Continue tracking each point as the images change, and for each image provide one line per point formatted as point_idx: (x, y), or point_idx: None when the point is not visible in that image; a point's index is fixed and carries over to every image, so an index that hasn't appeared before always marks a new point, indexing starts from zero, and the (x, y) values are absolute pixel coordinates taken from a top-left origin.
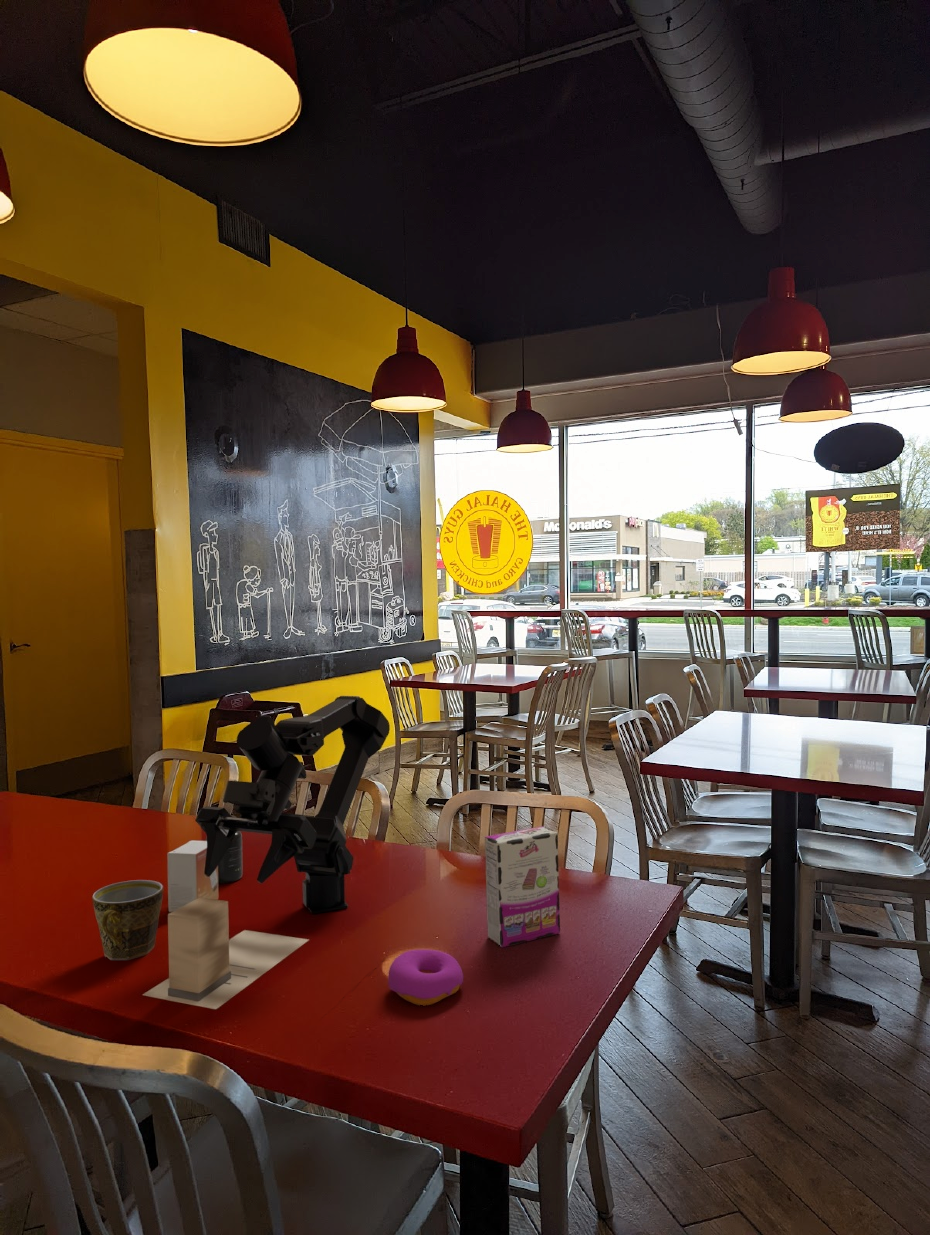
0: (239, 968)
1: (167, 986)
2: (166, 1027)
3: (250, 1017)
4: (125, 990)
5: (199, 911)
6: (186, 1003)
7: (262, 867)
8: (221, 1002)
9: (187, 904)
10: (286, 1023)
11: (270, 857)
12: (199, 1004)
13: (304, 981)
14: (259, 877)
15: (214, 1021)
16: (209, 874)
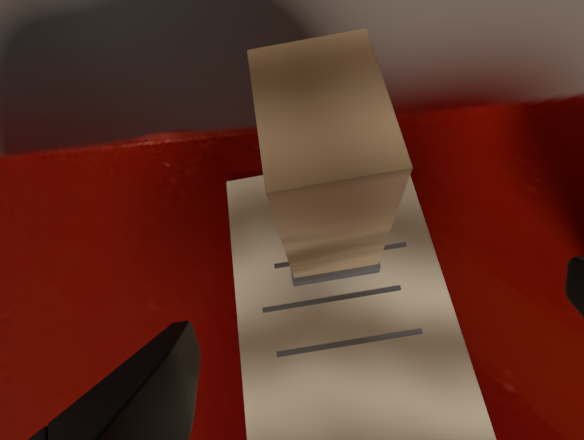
0: (316, 337)
1: None
2: None
3: (165, 212)
4: (473, 167)
5: (288, 85)
6: None
7: (144, 359)
8: (234, 202)
9: (386, 101)
10: (90, 227)
11: (55, 428)
12: None
13: None
14: (170, 327)
15: (217, 173)
16: (573, 291)
